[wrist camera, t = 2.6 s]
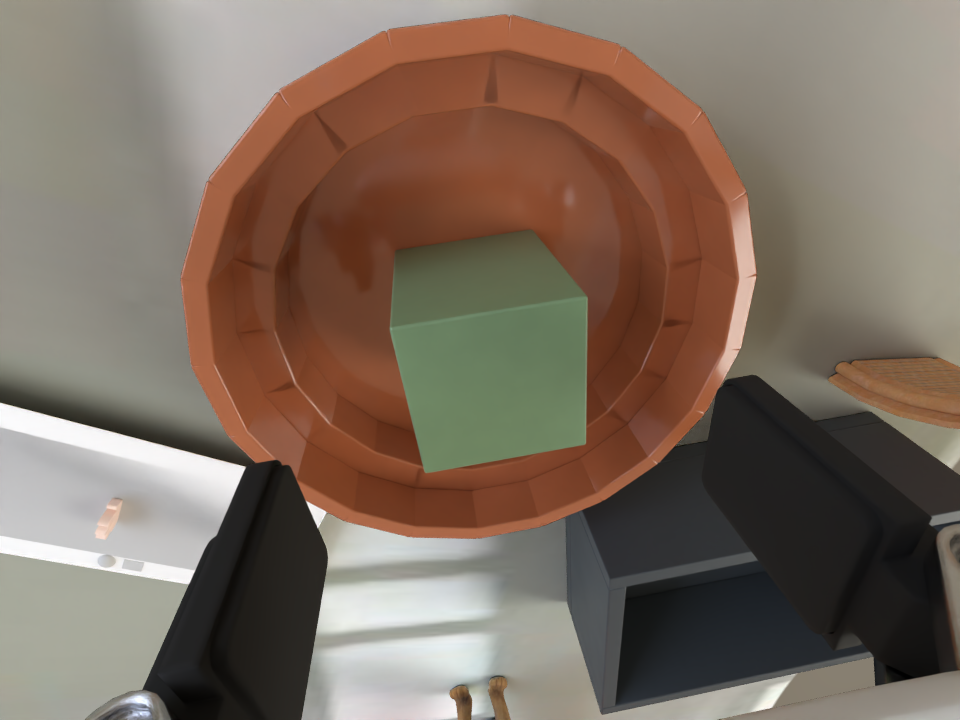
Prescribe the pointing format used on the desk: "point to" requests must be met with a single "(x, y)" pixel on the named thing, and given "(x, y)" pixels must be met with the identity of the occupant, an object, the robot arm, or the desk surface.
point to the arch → (905, 387)
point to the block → (489, 349)
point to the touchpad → (108, 498)
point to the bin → (708, 577)
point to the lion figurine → (496, 695)
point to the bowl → (458, 216)
